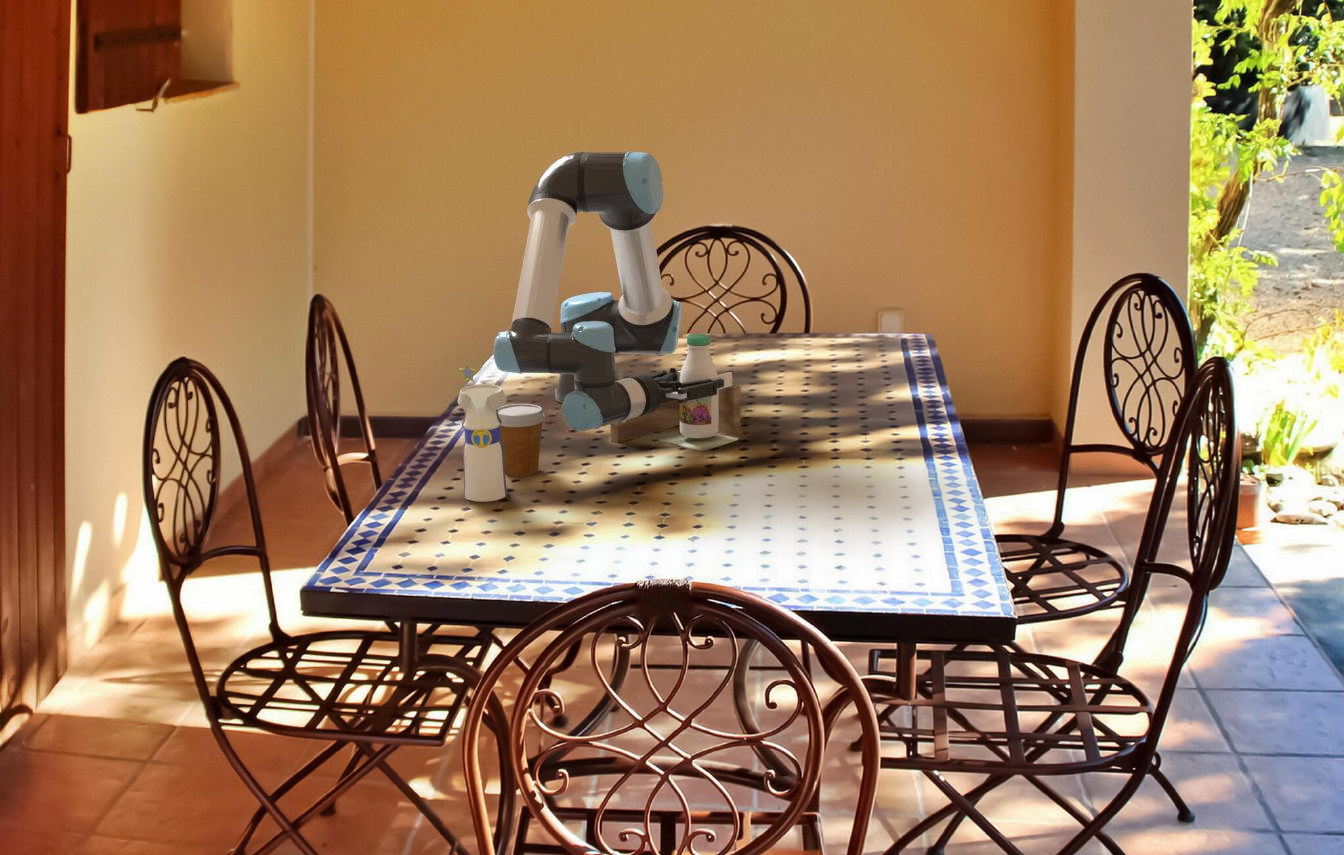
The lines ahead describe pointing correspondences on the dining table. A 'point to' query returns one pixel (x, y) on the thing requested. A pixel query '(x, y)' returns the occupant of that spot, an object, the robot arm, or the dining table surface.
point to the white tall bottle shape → (482, 440)
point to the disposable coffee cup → (521, 437)
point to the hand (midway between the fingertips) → (715, 375)
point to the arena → (670, 417)
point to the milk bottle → (704, 412)
